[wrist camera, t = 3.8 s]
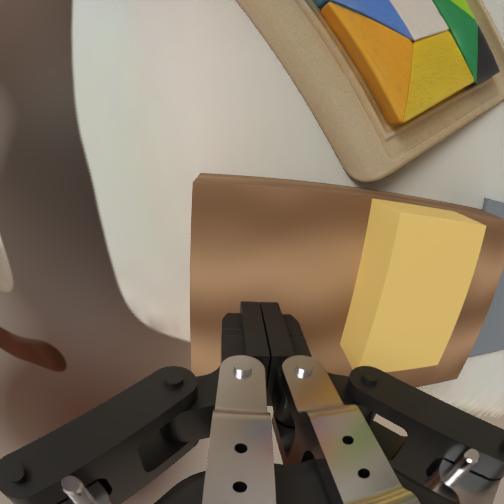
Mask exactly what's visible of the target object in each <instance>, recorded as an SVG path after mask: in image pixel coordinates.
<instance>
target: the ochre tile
mask: <svg viewBox="0 0 504 504" xmlns="http://www.w3.org/2000/svg"><path fill="white" fill-rule="evenodd" d="M485 230H486V225H484V224H481V223H479V222H477V221H475V220H473V219H470V218H468V217H466V216H464V215H461V214H459V213H457V212H454V211H449V210H443V209H438V208H432V207H426V206H420V205H414V204H407V203H401V202H394V201H387V200H380V199H373V198H372V202H371V208H370V214H369V220H368V225H367V231H366V236H365V241H364V246H363V251H362V256H361V261H360V266H359V270H358V275H357V279H356V283H355V288H354V292H353V296H352V300H351V304H350V308H349V312H348V316H347V320H346V324H345V327H344V331H343V335H342V338H341V342H340V345H341V347H342V349H343V351H344V353H345V355H346V357H347V359H348V361H349V363H350V365H351V367H352V369H354V368H356V367H359V366H371V367H375V368H377V369H380V370H382V371H383V372H393V371H401V370H408V369H415V368H422V367H428V366H434V365H438V363H439V361H440V359H441V357H442V355H443V353H444V350H445V348H446V346H447V344H448V341H449V339H450V337H451V334H452V332H453V329H454V327H455V325H456V322H457V320H458V317H459V314H460V312H461V309H462V306H463V304H464V301H465V298H466V295H467V292H468V289H469V286H470V283H471V280H472V277H473V274H474V271H475V267H476V264H477V261H478V257H479V253H480V250H481V246H482V242H483V238H484V234H485Z"/></svg>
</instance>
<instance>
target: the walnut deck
mask: <svg viewBox="0 0 504 504" xmlns="http://www.w3.org/2000/svg"><path fill="white" fill-rule="evenodd" d="M372 198H373V199H380V200H387V201H394V202H401V203H407V204H414V205H420V206H426V207H432V208H438V209H443V210H449V211H454V212H457V213H459V214H461V215H464V216H466V217H468V218H470V219H473V220H475V221H477V222H479V223H481V224H484V225H486V230H485V234H484V238H483V242H482V246H481V250H480V253H479V257H478V261H477V264H476V267H475V271H474V274H473V277H472V280H471V283H470V286H469V289H468V292H467V295H466V298H465V301H464V304H463V306H462V309H461V312H460V314H459V317H458V320H457V322H456V325H455V327H454V329H453V332H452V334H451V337H450V339H449V341H448V344H447V346H446V348H445V350H444V353H443V355H442V357H441V359H440V361H439V363H438V365H434V366H428V367H422V368H415V369H408V370H401V371H393V372H385V373H387V374H389V375H391V376H393V377H395V378H397V379H399V380H401V381H403V382H405V383H407V384H409V385H411V386H413V387H420V386H425V385H430V384H435V383H440V382H444V381H449V380H453V379H457V377H458V376H459V374H460V372H461V370H462V368H463V366H464V364H465V362H466V360H467V358H468V356H469V354H470V352H471V350H472V348H473V346H474V343H475V341H476V339H477V337H478V335H479V332H480V330H481V328H482V325H483V323H484V320H485V318H486V316H487V313H488V310H489V308H490V305H491V303H492V300H493V297H494V295H495V292H496V289H497V286H498V283H499V280H500V277H501V274H502V271H503V268H504V219H503V218H501V217H498V216H496V215H494V214H491V213H489V212H486V211H484V210H481V209H476V208H471V207H467V206H462V205H457V204H452V203H447V202H442V201H437V200H431V199H426V198H420V197H415V196H409V195H403V194H397V193H390V192H384V191H377V190H370V189H363V188H356V187H349V186H341V185H333V184H325V183H316V182H307V181H297V180H287V179H276V178H265V177H252V176H238V175H223V174H205V173H200V174H199V176H198V177H197V178H196V179H195V181H194V182H193V192H192V216H191V254H190V332H191V369H192V373H193V374H194V375H195V376H196V377H197V376H203V375H207V374H210V373H212V372H214V371H215V370H217V369H218V368H219V366H220V365H221V332H222V319H223V318H224V316H225V315H226V314H227V313H239V312H240V302H241V301H252V302H259V303H260V302H278V303H279V306H280V309H281V312H282V314H291V315H292V316H293V317H294V318H295V319H296V320H298V322H299V324H300V327H301V331H302V332H303V335H304V337H305V340H306V343H307V345H308V348H309V350H310V353H311V356H312V358H315V359H316V360H318V361H319V362H321V363H322V364H323V366H324V368H325V370H326V372H329V373H332V374H337V375H343V376H349V375H350V373H351V371H352V370H353V369H352V367H351V365H350V363H349V361H348V359H347V357H346V355H345V353H344V351H343V349H342V347H341V345H340V342H341V338H342V335H343V331H344V327H345V324H346V320H347V316H348V312H349V308H350V304H351V300H352V296H353V292H354V288H355V283H356V279H357V275H358V270H359V266H360V261H361V256H362V251H363V246H364V241H365V236H366V231H367V225H368V220H369V214H370V208H371V202H372Z"/></svg>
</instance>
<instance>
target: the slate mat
mask: <svg viewBox="0 0 504 504" xmlns="http://www.w3.org/2000/svg"><path fill="white" fill-rule="evenodd" d="M483 210H484V211H486V212H489V213H491V214H494V215H496V216H498V217H501V218H503V219H504V203H501V202H497V201H493V200H490V199H486V198H485V200H484V205H483ZM503 349H504V268H503V271H502V274H501V277H500V280H499V283H498V286H497V289H496V292H495V295H494V297H493V300H492V303H491V305H490V308H489V310H488V313H487V316H486V318H485V320H484V323H483V325H482V328H481V330H480V332H479V335H478V337H477V339H476V341H475V343H474V346H473V348H472V350H471V352H470V354H469V356H468V357H473V356H477V355H482V354H486V353H491V352H495V351H499V350H503Z"/></svg>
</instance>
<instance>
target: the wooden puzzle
mask: <svg viewBox="0 0 504 504" xmlns="http://www.w3.org/2000/svg"><path fill="white" fill-rule="evenodd" d="M236 1H237V3H238V4H239V5H240V6H241V8H242V9H243V10H244V12H245V13H246V14H247V16H248V17H249V18H250V20H251V21H252V22H253V24H254V25H255V26H256V28H257V29H258V31H259V32H260V33H261V35H262V36H263V38H264V39H265V40H266V42H267V43H268V45H269V46H270V48H271V49H272V50H273V52H274V53H275V55H276V56H277V58H278V59H279V61H280V62H281V64H282V65H283V67H284V68H285V70H286V71H287V73H288V74H289V76H290V77H291V79H292V81H293V82H294V84H295V85H296V87H297V88H298V90H299V92H300V93H301V95H302V96H303V98H304V100H305V101H306V103H307V105H308V106H309V108H310V110H311V111H312V113H313V115H314V116H315V118H316V120H317V122H318V123H319V125H320V127H321V129H322V130H323V132H324V134H325V136H326V137H327V139H328V141H329V143H330V145H331V146H332V148H333V150H334V152H335V154H336V156H337V157H338V159H339V161H340V163H341V165H342V167H343V168H344V170H345V171H346V173H347V174H348V175H349V176H350V177H352V178H353V179H355V180H357V181H360V182H364V183H371V182H376V181H379V180H381V179H383V178H385V177H387V176H389V175H391V174H392V173H394V172H395V171H397V170H398V169H400V168H401V167H403V166H404V165H406V164H407V163H409V162H410V161H412V160H413V159H415V158H416V157H418V156H419V155H421V154H423V153H424V152H426V151H427V150H429V149H430V148H432V147H433V146H435V145H436V144H438V143H439V142H441V141H442V140H444V139H445V138H447V137H448V136H450V135H451V134H453V133H454V132H456V131H457V130H459V129H460V128H462V127H463V126H465V125H466V124H468V123H469V122H471V121H472V120H474V119H476V118H477V117H478V116H480V115H481V114H483V113H484V112H486V111H487V110H489V109H490V108H492V107H494V106H495V105H497V104H498V103H500V102H501V101H503V100H504V43H503V41H502V39H501V36H500V34H499V32H498V30H497V28H496V26H495V24H494V22H493V20H492V18H491V17H490V15H489V13H488V11H487V9H486V7H485V6H484V4H483V2H482V1H481V0H236Z"/></svg>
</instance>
